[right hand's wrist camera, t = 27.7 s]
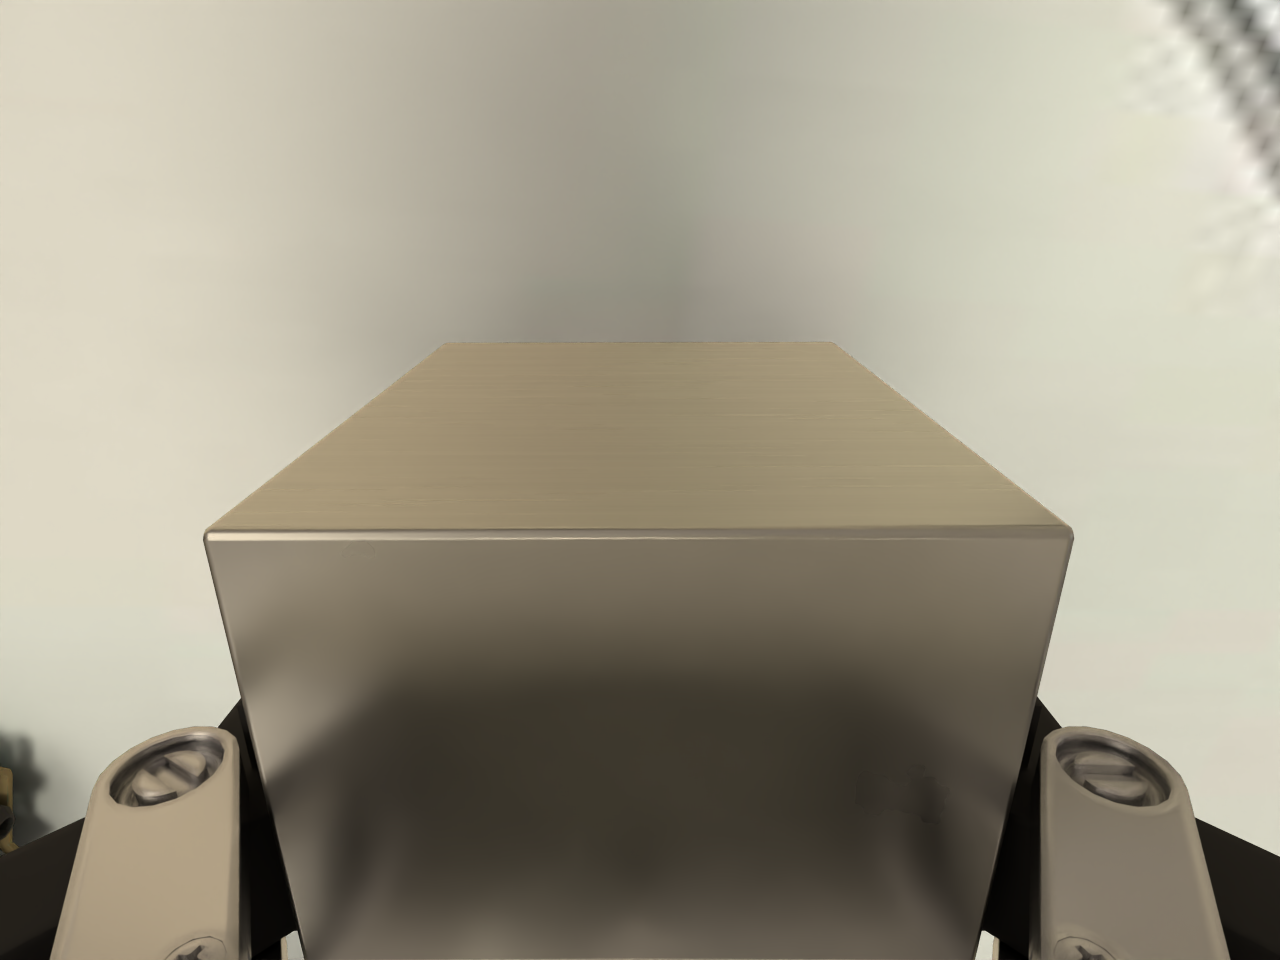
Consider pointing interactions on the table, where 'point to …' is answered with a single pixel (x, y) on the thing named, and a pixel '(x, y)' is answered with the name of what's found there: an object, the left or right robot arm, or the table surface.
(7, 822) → the spray gun
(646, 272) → the table surface
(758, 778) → the block
